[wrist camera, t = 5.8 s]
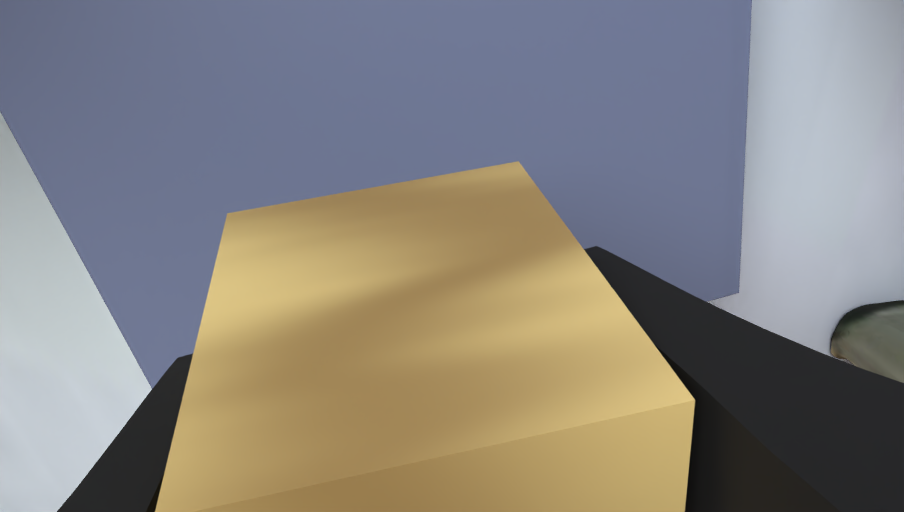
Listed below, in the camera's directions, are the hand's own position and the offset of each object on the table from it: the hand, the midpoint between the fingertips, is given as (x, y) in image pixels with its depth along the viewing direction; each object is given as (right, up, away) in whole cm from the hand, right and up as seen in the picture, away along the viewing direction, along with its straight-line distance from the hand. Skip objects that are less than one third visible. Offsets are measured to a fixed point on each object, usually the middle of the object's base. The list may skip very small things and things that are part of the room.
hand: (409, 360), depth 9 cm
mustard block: (0, +1, +1) cm, 1 cm away
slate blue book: (-1, +5, +7) cm, 9 cm away
